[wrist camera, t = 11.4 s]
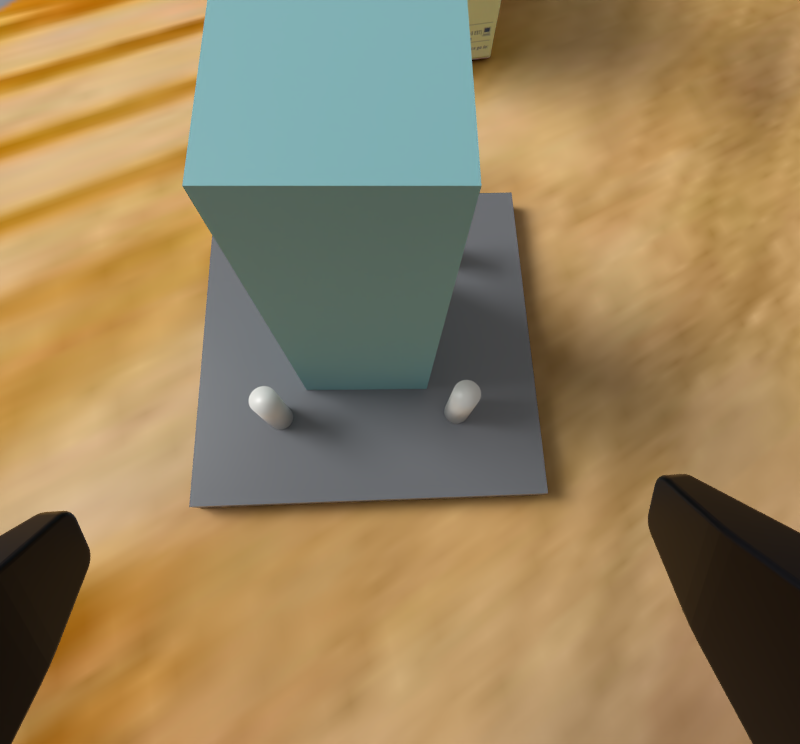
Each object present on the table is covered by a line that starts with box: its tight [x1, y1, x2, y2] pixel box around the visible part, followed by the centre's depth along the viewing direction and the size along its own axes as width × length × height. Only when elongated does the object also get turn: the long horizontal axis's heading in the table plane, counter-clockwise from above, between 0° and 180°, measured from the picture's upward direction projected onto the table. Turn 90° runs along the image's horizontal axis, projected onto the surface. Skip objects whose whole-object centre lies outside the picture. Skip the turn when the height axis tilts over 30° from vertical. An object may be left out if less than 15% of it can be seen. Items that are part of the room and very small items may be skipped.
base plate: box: [189, 193, 548, 508], centre depth 21 cm, size 14×14×4 cm
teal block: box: [182, 0, 481, 390], centre depth 15 cm, size 5×5×13 cm
